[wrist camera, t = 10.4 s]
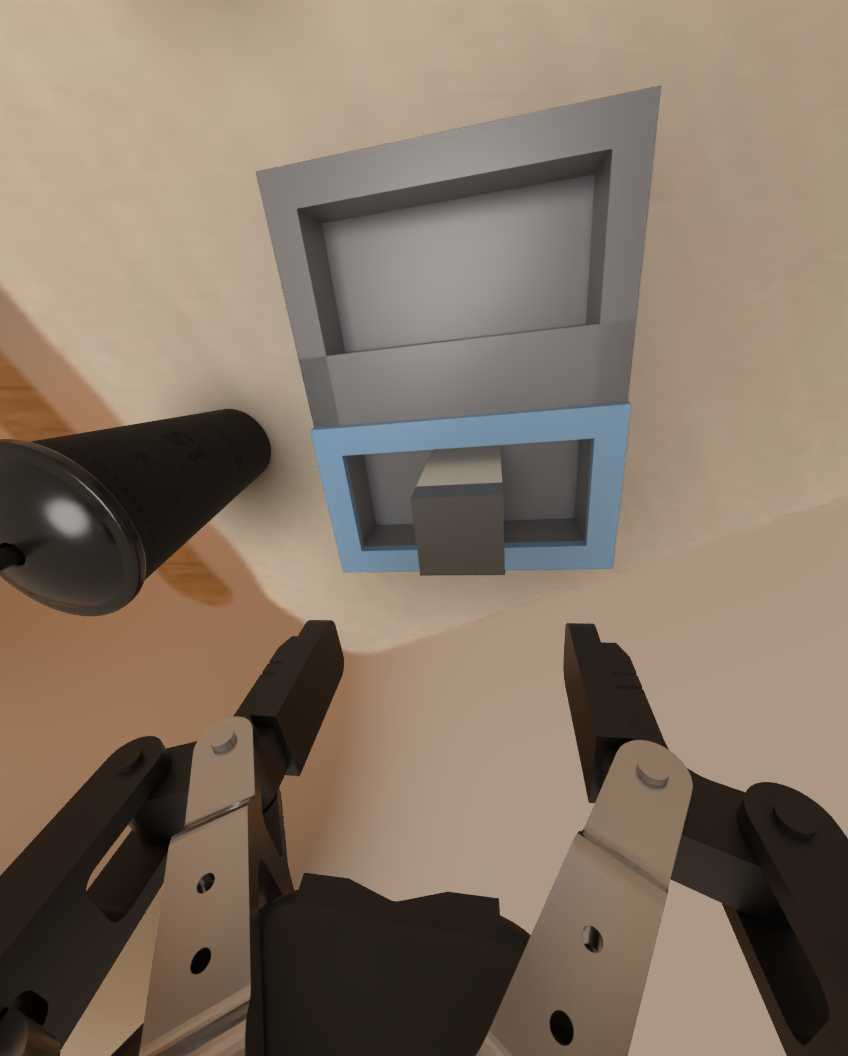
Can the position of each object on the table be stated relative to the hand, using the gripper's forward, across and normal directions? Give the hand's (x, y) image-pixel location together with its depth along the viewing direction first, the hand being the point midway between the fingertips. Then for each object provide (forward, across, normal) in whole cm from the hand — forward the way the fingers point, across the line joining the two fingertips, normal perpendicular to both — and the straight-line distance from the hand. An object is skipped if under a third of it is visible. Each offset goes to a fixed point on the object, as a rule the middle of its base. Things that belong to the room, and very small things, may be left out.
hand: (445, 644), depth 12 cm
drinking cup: (+16, +16, -3) cm, 23 cm away
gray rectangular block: (+15, 0, 0) cm, 15 cm away
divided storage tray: (+16, 0, -6) cm, 17 cm away
